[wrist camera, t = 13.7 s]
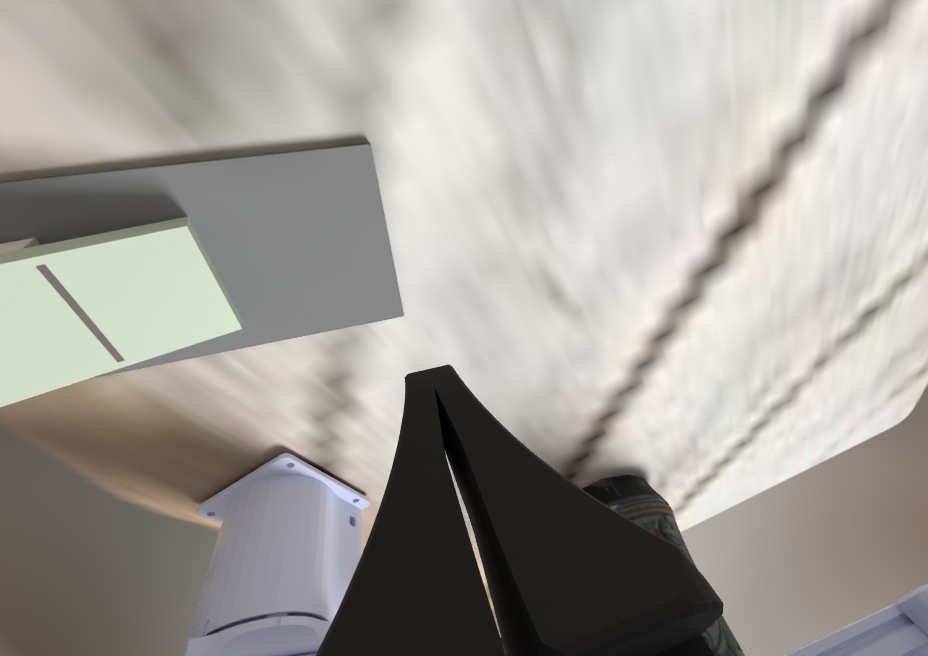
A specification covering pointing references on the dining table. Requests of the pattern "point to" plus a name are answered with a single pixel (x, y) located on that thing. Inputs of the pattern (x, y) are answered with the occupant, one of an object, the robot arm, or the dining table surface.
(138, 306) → the sage domino
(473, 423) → the robot arm
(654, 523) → the beer stein
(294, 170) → the mat
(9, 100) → the dining table surface
